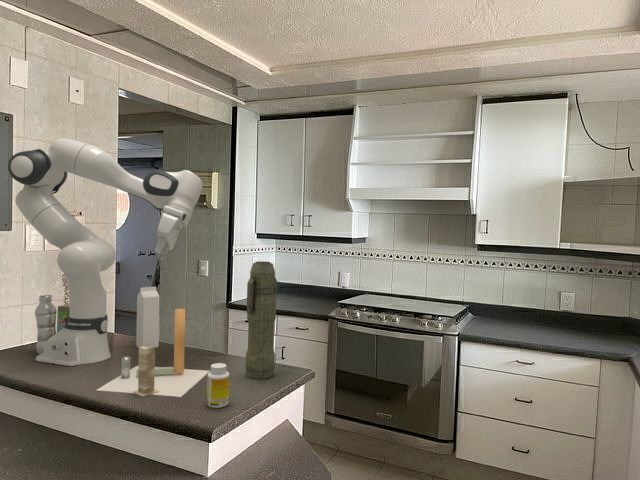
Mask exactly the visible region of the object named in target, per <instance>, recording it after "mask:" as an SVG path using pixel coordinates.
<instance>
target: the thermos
mask: <svg viewBox="0 0 640 480" xmlns="http://www.w3.org/2000/svg"><path fill="white" fill-rule="evenodd" d="M274 267H275V266H274V264H273V263H271V261H264V260H263V261H260V260H259V261H255V262H253V263H252V265H251V269H250V273H249V274H250V275H249V276H250V277H249V279H248V281H247V285H246V288H247V289H246V290H247V291H246V315H247V316H246V320H247V321H248V325H247V327H248V328H247V329H248V330H247V331H248V333H247V334H248V335H247V350H246V352H245V371H246V372H245V377H246V378H247V379H249V380H254V381H255V380H256V381H264V380H263V379H266V380H269V379H268V378H270V379H272V378H273V377H274V376H275V373H274V372H275V366H276V364H275V363H276V353H275V350H274V343H275V338H274V337H275V336H274V335H275V322H276V320H277V319H276V318H277V296H278V295H277V291H278V280H277V278H276V271H275V268H274ZM271 377H272V378H271Z"/></svg>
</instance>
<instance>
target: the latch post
mask: <svg viewBox="0 0 640 480" xmlns="http://www.w3.org/2000/svg"><path fill="white" fill-rule="evenodd" d="M155 364H156V348H155V347H153V346H150V345H147V346H142V347H138V366H139V371H138V390H135V391H133V393H132V394H134V395H135V394H136V395H138V396H139V397H141V398H145V397H148V396H152V395H151V394H155V393H158V392H160V391H158V390H156V389H154V378H155V367H156V365H155Z"/></svg>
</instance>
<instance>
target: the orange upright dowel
mask: <svg viewBox="0 0 640 480" xmlns="http://www.w3.org/2000/svg"><path fill="white" fill-rule="evenodd" d="M185 333H186V308H176V309H175V310H174V337H173V338H174V340H173V343H174V346H173V366H162V367H161V366H158V367H159V368H155V375H163V374H174V373H183V372H184V369H185V348H186V347H185V339H186V338H185V335H186V334H185ZM138 371H139V369H137V371H136V376H138Z"/></svg>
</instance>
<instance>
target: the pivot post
mask: <svg viewBox="0 0 640 480" xmlns="http://www.w3.org/2000/svg"><path fill="white" fill-rule="evenodd" d="M120 359H121V369H120V370H121V371H120V376H121V378H122V379H128V378H130V370H131V356H128V355H126V356H122V357H121V358H120Z"/></svg>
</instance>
